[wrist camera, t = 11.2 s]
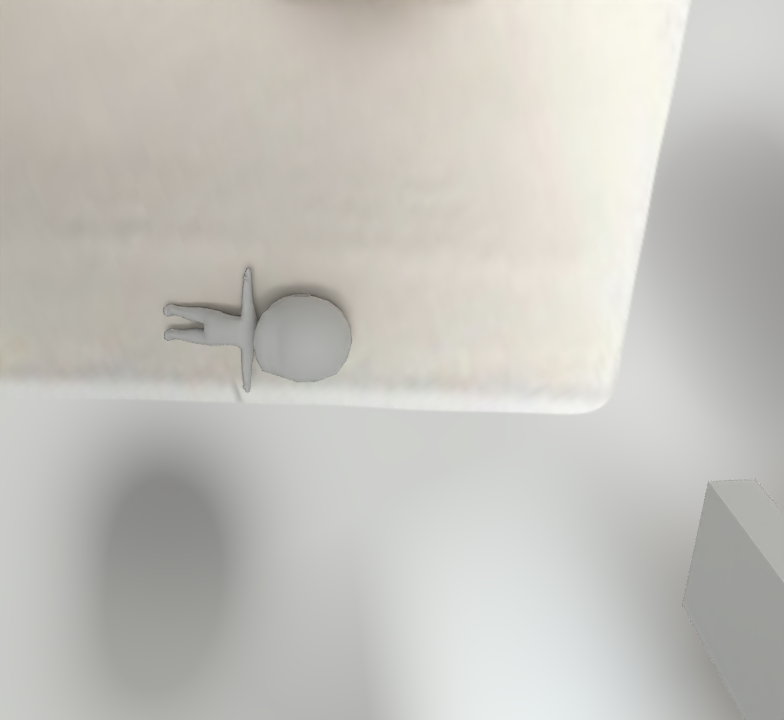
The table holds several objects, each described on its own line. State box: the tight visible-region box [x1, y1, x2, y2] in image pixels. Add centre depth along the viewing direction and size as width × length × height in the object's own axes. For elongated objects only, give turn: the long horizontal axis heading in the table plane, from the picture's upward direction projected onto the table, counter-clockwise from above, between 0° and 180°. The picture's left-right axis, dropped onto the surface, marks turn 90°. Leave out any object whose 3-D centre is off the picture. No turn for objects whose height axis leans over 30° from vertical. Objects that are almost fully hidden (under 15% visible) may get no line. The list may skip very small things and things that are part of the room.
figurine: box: [163, 268, 352, 392], centre depth 41 cm, size 8×5×12 cm
